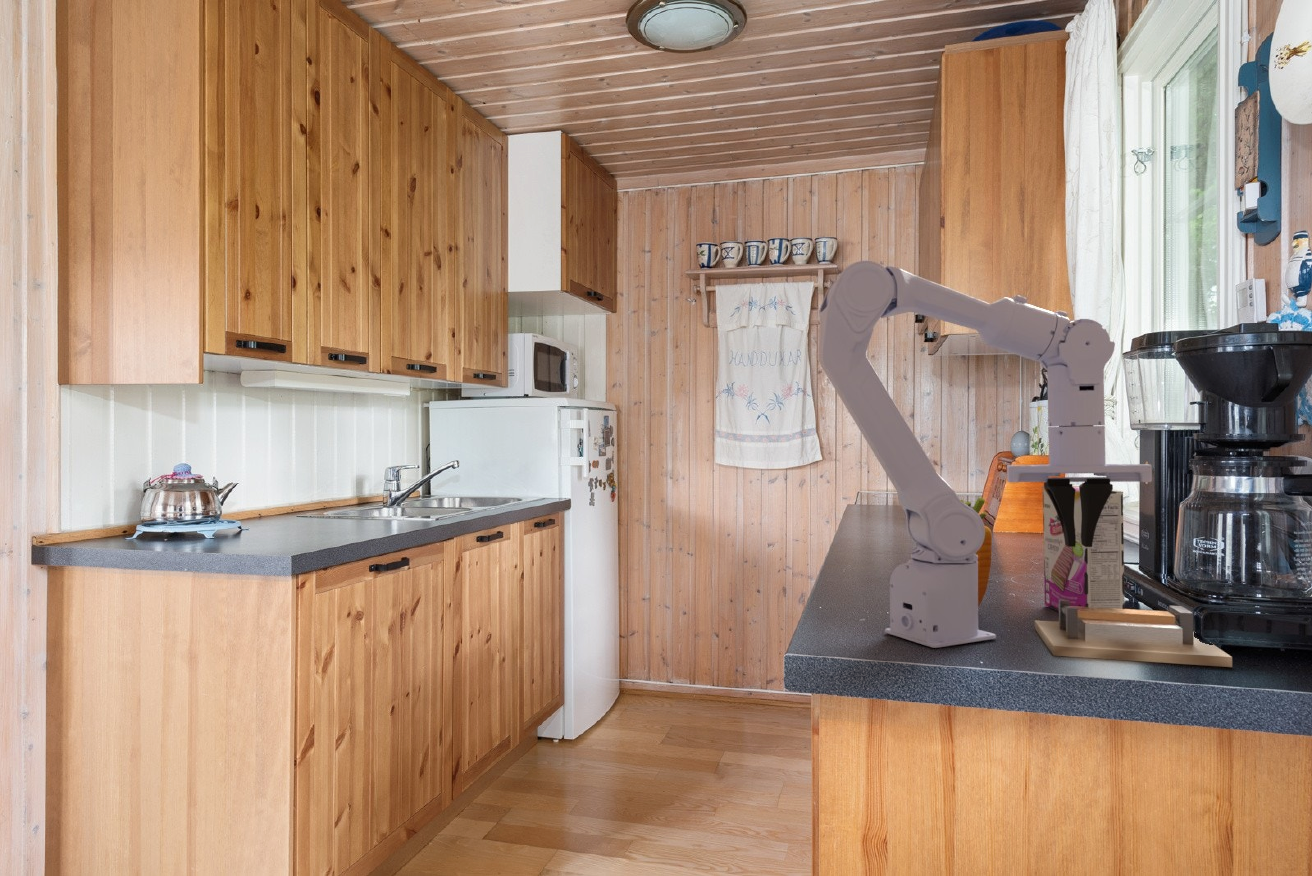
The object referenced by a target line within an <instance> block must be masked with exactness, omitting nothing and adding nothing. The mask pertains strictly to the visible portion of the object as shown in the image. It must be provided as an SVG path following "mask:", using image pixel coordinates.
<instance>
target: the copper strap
mask: <svg viewBox="0 0 1312 876" xmlns="http://www.w3.org/2000/svg"><path fill="white" fill-rule="evenodd" d="M1066 607H1076V608H1077V609H1078V618H1083V619H1100V620H1117V621H1134V622H1152V623H1171V624H1175V616H1174V615H1172V614H1171V613H1169V610H1167V611H1166V610H1148V609H1132V608H1125V609H1116V608H1098V607H1080V606H1067V605H1064V606H1063V607H1062V608H1061V610H1062V612H1063V613H1064V614H1065V615H1066Z"/></svg>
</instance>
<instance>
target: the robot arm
mask: <svg viewBox="0 0 1312 876" xmlns="http://www.w3.org/2000/svg"><path fill="white" fill-rule="evenodd" d="M1027 302H1028V298H1027V297H1026V296H1022V295H1017V294H1016V295H1015V296H1013V297H1012V298H1010V297H1001V298H999V299H998V300H996V301H994V302H991V303H989V302H988V301H987V302H986V301H984V300H982V299H979V298H976V297H973V296H971V295H968V294H966V293H963V292H960V291H957V290H955V289H953V288H949V287H948V286H945V285H942V284H939V283H936V282H934V281H931V280H929V279H927V278H923V277H920V276H918V275H915V274H913V273H911V272H909V271H907V270H904V269H902V268H900V267H896V266H889V265H886V266H885V267H884V266H883V265H881V264H879V263H878V262H875V261H871V260H860V261H856V262H853V263H851V264H849V265H847V267H845V268H844V269H843V270H842V272H841V273H840V275H839V276H838V278H837V279H836V280H834V282H832V284H831V285H830V286H829V287H828V288H827V291H826V293H825V295H824V297H823V300H822V303H821V304H820V307H819V310H818V316H819V338H818V339H819V340H818V342H819V343H818V362H819V365H820V366H821V368H822V370H823V372H824V374H825V375H826V377H827V378H828V380H829V381H830V383H831V385H832V387H833V388H834V390H835V391H836V393H837V395H838V397H839V398H840V400H841V401H842V404H843V405H844V406H845V408H846V409H847V411H848V413H849V414H850V416H851V418H852V419H853V421H854V423H855V425H856V426H857V428H858V429H859V431H860V432H861V434H862V436H863V438H864V439H865V441H866V443H867V444H868V446H869V448H870V449H871V451H872V452H873V454H874V456H875V457H876V459H877V460H878V462H879V464H880V465H881V467H882V469H883V470H884V472H885V474H886V475H887V477H888V479H889V481H890V482H891V484H892V485H893V488H894V489H895V490H896V493H897V494H896V495H897V498H898V503H899V505H900V506H901V508H902V509H903V513H904V514H905V517H906V529H907V533H908V535H909V537H910V538H911V540H912V541H913V542H914V543H915V545H914V546H913V548H912V550H911V551H910V559H909V560H908V561H907V562H904V563H901V564H899V565H896V567H895V568H894V569H893V571H892V573H891V575H890V578H889V627H887V628H885V629H884V631H885V634H887V635H888V634H889V635H893V636H894V637H898V638H901V639H905V640H907V641H910V642H913V643H917V644H919V645H920V644H921V645H923V646H925V647H930V648H933V649H934V648H935V649H937V648H943V647H944V648H945V647H951V646H957V645H963V644H968V643H969V644H970V643H975V642H983V641H989V640H994V639H997V634H996V633H992V632H988V631H986V630H981V629H979V607H978V561H977V560H978V556H977V555H976V554H975V553H976V552H977V551H978V550H979V549H980V547H981V546H982V544H983V541H984V537H985V527H984V525H985V524H984V521H983V519H981V517H980V513H977V512H976V511H975V510H974V509H973V508H972V506H971V507H969V506H967V505H966V504H964V503H965V502H964V503H963V502H962V501H961V500H962V499H960V498H959V496H958V495H957V493H956V492H955V489H953V488H952V486H951V485H950V484H949V483H948V482H947V481H946V480H945V479H944V478H943V477H942V476H941V475H940V474H939V473H938V472H937V469H936V468H935V466H934V465H933V463H932V462H931V460H930V459H929V457H928V455H927V454H926V452H925V451H924V449H923V446H921V443H920V442H919V440H918V439H917V437H916V435H915V434H914V432H913V431H912V429H911V427H910V425H909V424H908V422H907V421H906V419H905V418H904V416H903V414H902V413H901V411H900V409H899V407H898V406H897V405H896V403H895V401H894V399H893V398H892V396H891V395H890V393H889V392H888V390H887V387H886V386H885V385H884V383H883V381H882V380H881V378H880V376H879V375H878V373H877V371H876V370H875V368H874V366H873V365H872V363H871V361H870V360H869V358H868V357H867V350H868V347H869V344H870V342H871V339H872V335H873V332H874V327H875V326H876V325H877V323H878V321H879V320H880V319H885V318H889V317H894V316H897V315H901V314H907V313H913V314H917V315H921V316H926V317H929V318H932V319H936V320H939V321H943V322H946V323H949V324H954V325H956V326H960V327H965V328H966V329H971V330H975V331H977V333H978V334H979V336H980V338H981V339H982V342H983V343H984V345H986V346H988V347H992V348H994V349H998V350H1001V351H1004V352H1007V353H1010V354H1013V355H1016V356H1019V357H1022V358H1025V359H1028V360H1031V361H1034V362H1039V364H1040V365H1041V366H1042V368H1043V369H1045V370H1046V371H1047V373H1046V374H1047V421H1048V423H1047V425H1048V426H1047V427H1048V431H1047V433H1048V437H1047V438H1048V464H1023V465H1022V464H1021V465H1020V464H1017V465H1015V464H1013V465H1006V481H1007V483H1010V484H1011V483H1014V484H1015V483H1043V486H1044V487H1045V490H1046V492H1047V493H1048V495H1049V497H1050V499H1051V501H1052V503H1053V505H1054V507H1055V510H1056V512H1057V514H1058V517H1059V520H1060V523H1061V526H1062V530H1063V534H1064V539H1065V545H1067V546H1068V547H1075V545H1076V535H1075V524H1074V503H1075V490H1076V489H1075V488H1073V487H1072V485H1073V484H1072V483H1076V482H1077V483H1081V484H1079V485H1080V486H1079V490H1080V499H1081V512H1082V521H1081V544H1082V545H1083V546H1085V547H1092V544H1093V537H1094V533H1095V529H1096V525H1097V522H1098V520H1099V517H1100V514H1101V512H1102V510H1103V508H1104V506H1105V504H1106V502H1107V500H1108V498H1109V496H1110V495H1111V493H1112V490H1114V489H1113V488H1114V487H1113V486H1114V485H1113V484H1112V482H1113V483H1117V482H1118V483H1119V482H1122V483H1123V482H1125V483H1127V482H1129V483H1130V482H1137V483H1139V482H1140V483H1152V482H1153V472H1152V471H1153V470H1152V468H1153V467H1152V466H1153V465H1152V464H1147V463H1146V464H1145V463H1142V464H1141V463H1140V464H1139V463H1137V464H1135V463H1133V464H1132V463H1130V464H1129V463H1127V464H1126V463H1122V464H1121V463H1115V464H1114V463H1106V430H1105V428H1106V425H1105V424H1106V423H1105V422H1106V421H1105V420H1106V417H1105V413H1106V412H1105V381H1104V379H1105V367H1106V365H1107V363H1108V362H1109V361H1110V360H1111V358H1112V356H1113V355H1114V351H1115V346H1116V343H1115V341H1112V340H1111V337H1110V334H1109V333H1108V330H1107V329H1106V328H1103V325H1102V324H1101V323H1100V322H1098V321H1096V320H1093V319H1090V318H1079V319H1076V320H1072V321H1070V318H1069V317H1068V312H1066V311H1063V310H1057V311H1055V312H1053V311H1050V310H1047V309H1044V308H1042V307H1041V308H1040V307H1037V306H1035V305H1032V304H1028V303H1027ZM1061 474H1093V476H1091V477H1090V476H1085V477H1083V476H1082V477H1081V476H1080V477H1079V476H1076V477H1075V476H1074V477H1073V476H1072V477H1070V476H1068V477H1067V476H1066V477H1065V476H1064V477H1063V476H1061Z"/></svg>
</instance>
